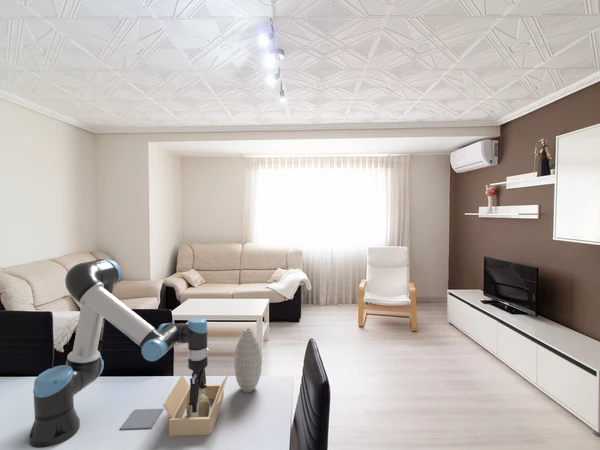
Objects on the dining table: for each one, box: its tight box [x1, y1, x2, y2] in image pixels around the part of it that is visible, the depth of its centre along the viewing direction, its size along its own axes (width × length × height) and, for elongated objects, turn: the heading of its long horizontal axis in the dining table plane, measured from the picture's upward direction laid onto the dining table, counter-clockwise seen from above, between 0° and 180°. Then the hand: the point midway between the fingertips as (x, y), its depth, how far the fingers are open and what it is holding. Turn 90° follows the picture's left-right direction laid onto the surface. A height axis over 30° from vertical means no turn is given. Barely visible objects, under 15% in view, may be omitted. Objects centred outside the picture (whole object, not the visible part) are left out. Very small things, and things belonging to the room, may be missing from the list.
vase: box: [233, 328, 263, 393], centre depth 150 cm, size 13×13×28 cm
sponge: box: [186, 394, 211, 418], centre depth 131 cm, size 9×10×10 cm
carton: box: [162, 373, 230, 437], centre depth 131 cm, size 20×24×11 cm
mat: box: [119, 408, 164, 431], centre depth 129 cm, size 12×12×1 cm
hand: (198, 411), depth 131 cm, fingers closed on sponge, 9 cm apart
